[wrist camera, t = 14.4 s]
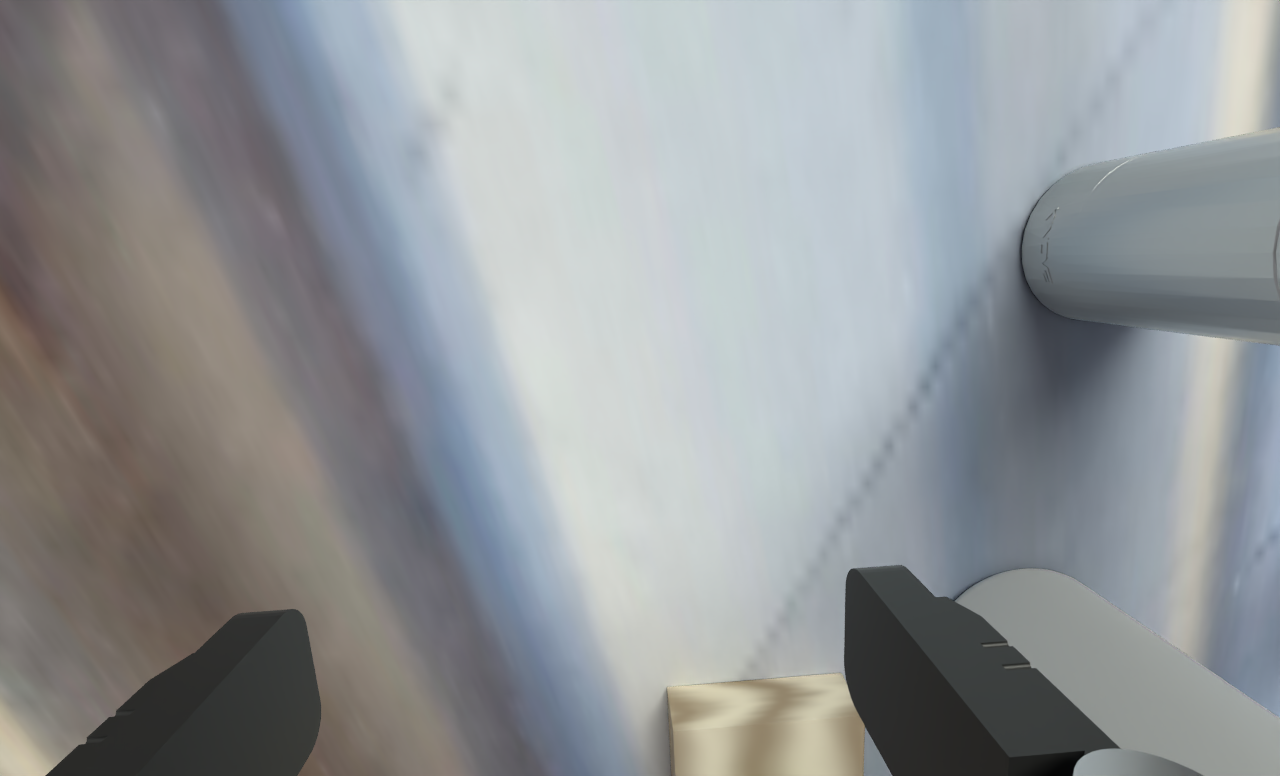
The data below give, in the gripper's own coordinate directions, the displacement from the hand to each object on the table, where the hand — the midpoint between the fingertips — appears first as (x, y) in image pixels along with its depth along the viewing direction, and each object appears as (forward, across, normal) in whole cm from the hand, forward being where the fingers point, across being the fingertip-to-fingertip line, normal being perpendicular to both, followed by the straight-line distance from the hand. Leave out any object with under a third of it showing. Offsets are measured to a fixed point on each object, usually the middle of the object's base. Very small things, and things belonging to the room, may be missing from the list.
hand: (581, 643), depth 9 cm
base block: (+28, -9, +31) cm, 43 cm away
